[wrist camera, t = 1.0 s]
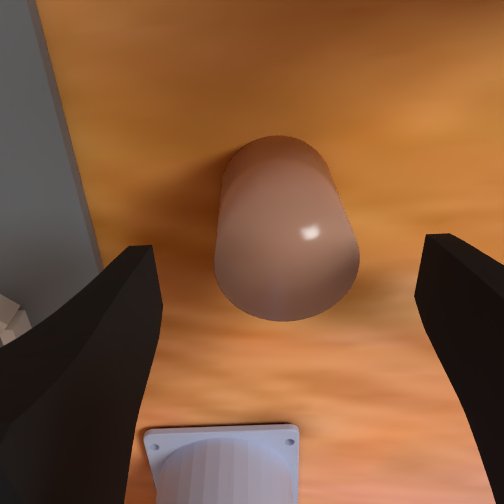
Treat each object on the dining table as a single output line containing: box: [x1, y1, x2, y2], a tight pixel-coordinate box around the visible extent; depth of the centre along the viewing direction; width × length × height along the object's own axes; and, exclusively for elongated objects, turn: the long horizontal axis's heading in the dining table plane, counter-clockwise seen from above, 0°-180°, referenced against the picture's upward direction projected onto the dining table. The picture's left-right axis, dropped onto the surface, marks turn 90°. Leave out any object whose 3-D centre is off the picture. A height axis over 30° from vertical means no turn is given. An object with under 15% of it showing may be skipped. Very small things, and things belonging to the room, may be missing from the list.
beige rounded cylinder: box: [214, 136, 360, 321], centre depth 15 cm, size 4×4×5 cm
